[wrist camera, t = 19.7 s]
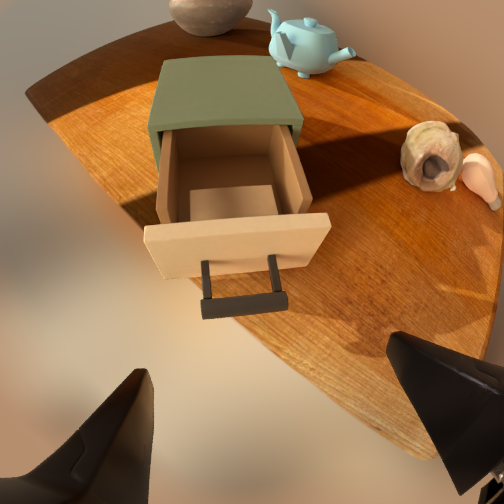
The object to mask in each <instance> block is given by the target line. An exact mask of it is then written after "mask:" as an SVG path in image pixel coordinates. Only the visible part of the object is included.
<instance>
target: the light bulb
mask: <svg viewBox="0 0 504 504" xmlns="http://www.w3.org/2000/svg"><path fill="white" fill-rule="evenodd" d="M461 177H462V180H463V182H464V184H465V185H466V186H467V187H468V188H469V190H471V191H473V192H475V193H476V194H478V195H479V196H481V197H482V198H483V199H484V201H485V202H487V203H488V205H489V207H490V208H491V210H493V211H495V210H498V209H499V208H500V207H501V205H502V201H501V199H500V197H499V195H498V191H497V188H496V185H495V178H494V170H493V167H492V165H491V163H490V162H489V160H488V159H487V158H486V157H485V156H483V155H481V154H476V153H474V154H469V155H468V156H467V157H466V158H465V159H464V160H463V166H462V170H461Z"/></svg>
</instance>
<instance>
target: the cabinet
mask: <svg viewBox="0 0 504 504" xmlns="http://www.w3.org/2000/svg"><path fill="white" fill-rule="evenodd" d="M303 122H304V117H303V115H302V113H301V111H300V109H299V107H298V105H297V103H296V101H295V98H294V96H293V94H292V92H291V90H290V88H289V86H288V84H287V83H286V81H285V79H284V77H283V75H282V73H281V71H280V69H279V67H278V65H277V64H276V62H275V60H274V58H273V57H272V56H206V57H192V58H181V59H172V60H165V61H164V63H163V66H162V70H161V73H160V77H159V80H158V84H157V87H156V91H155V95H154V99H153V103H152V107H151V111H150V115H149V120H148V124H147V128H148V132H149V137H150V141H151V146H152V150H153V154H154V158H155V162H156V166H157V170H158V174H159V168H160V158H161V149H162V141H163V134H164V131H165V130H173V129H183V128H194V127H207V126H224V125H260V124H271V125H287V126H288V129H289V131H290V134H291V137H292V139H293V142H294V145H295V148H296V147H297V144H298V140H299V137H300V133H301V130H302V125H303Z"/></svg>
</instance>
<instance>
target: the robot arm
mask: <svg viewBox="0 0 504 504" xmlns="http://www.w3.org/2000/svg"><path fill="white" fill-rule="evenodd" d="M386 354H387V356H388V359H389V361H390V363H391V365H392V367H393V369H394V371H395V374H396V376H397V378H398V380H399V382H400V384H401V386H402V388H403V389H404V391H405V393H406V395H407V396H408V398H409V400H410V402H411V403H412V405H413V407H414V408H415V410H416V412H417V414H418V416H419V417H420V419H421V421H422V423H423V425H424V426H425V428H426V430H427V432H428V434H429V436H430V437H431V439H432V441H433V443H434V445H435V447H436V449H437V451H438V453H439V455H440V456H441V459H442V461H443V463H444V465H445V467H446V469H447V471H448V473H449V475H450V477H451V479H452V481H453V483H454V485H455V487H456V490H457V492H458V494H459V495H460V496H461V495H462V494H464V493H465V492H466V491H468V490H469V489H470V488H472V487H473V486H474V485H475V484H476V483H477V482H479V481H480V480H481V479H482V478H484V477H485V476H486V475H487V474H488V473H489V472H490V473H491V474H492V475H493V478H492V479H491V480H490V481H489V482H488V483H487V484H486V485H485V486H484V487H482V488H481V492H480V497H479V502H478V504H504V367H501V366H498V365H494V364H490V363H487V362H484V361H481V360H478V359H475V358H473V357H472V358H471V357H470V356H467V355H464V354H461V353H459V352H456V351H453V350H450V349H448V348H445V347H442V346H440V345H437V344H434V343H431V342H429V341H426V340H423V339H421V338H418V337H415V336H413V335H410V334H407V333H405V332H402V331H397V332H394V333H392V334H391V335H390V338H389V342H388V345H387V349H386ZM153 431H154V388H153V384H152V381H151V378H150V375H149V372H148V370H147V369H144V368H142V369H134V371H132V373H131V374H130V375H129V376H128V377H127V378H126V379H125V380H124V381H123V382H122V383H121V384H120V385H119V386H118V387H117V388H116V389H115V391H114V392H113V393H112V394H111V395H110V396H109V397H108V398H107V399H106V400H105V401H104V402H103V403H102V404H101V405H100V406H99V407H98V408H97V410H96V411H95V412H94V413H93V414H92V415H91V416H90V417H89V418H88V419H87V420H86V421H85V422H84V423H83V424H82V425H81V427H80V428H79V430H77V431H76V432H75V433H74V434H73V435H72V436H71V437H70V438H69V439H68V440H67V441H66V442H65V443H64V444H63V445H62V446H61V447H60V448H59V449H57V450H56V451H55V452H54V453H53V454H52V455H50V456H49V457H48V458H47V459H46V460H44V461H43V462H42V463H41V464H40V465H38V466H37V467H36V468H35V469H33V470H32V471H31V472H29V473H28V474H26V475H23V476H20V477H12V478H0V504H148V495H149V477H150V464H151V453H152V442H153V433H154V432H153Z"/></svg>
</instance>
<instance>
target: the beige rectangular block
mask: <svg viewBox="0 0 504 504" xmlns="http://www.w3.org/2000/svg"><path fill="white" fill-rule="evenodd" d="M272 215H278V211H277V207H276V202H275V198H274V194H273V189H272V185H259V186H241V187H225V188H212V189H200V190H190V222H192V221H204V220H216V219H229V218H242V217H256V216H272Z"/></svg>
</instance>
